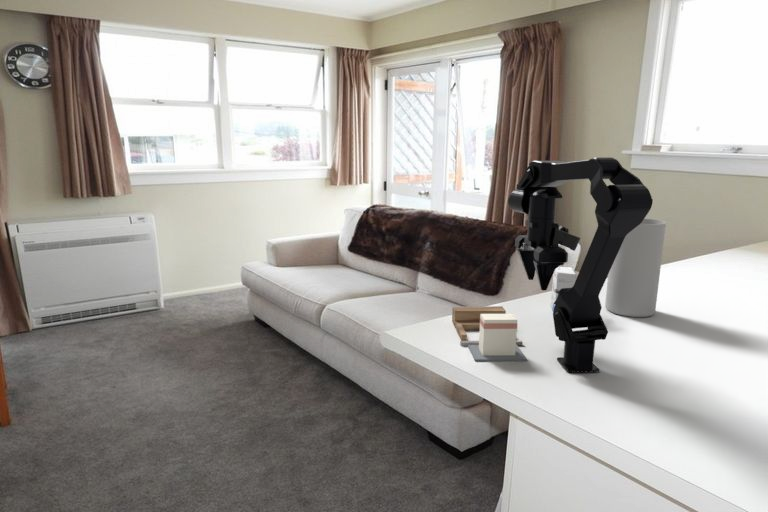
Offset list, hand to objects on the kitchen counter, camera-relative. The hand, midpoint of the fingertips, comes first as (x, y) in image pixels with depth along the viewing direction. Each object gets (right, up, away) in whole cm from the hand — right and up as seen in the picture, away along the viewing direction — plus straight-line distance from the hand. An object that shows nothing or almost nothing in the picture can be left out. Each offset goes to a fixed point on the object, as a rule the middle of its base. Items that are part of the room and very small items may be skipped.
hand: (537, 284), depth 117 cm
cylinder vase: (+33, -9, +23) cm, 41 cm away
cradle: (-11, -12, +6) cm, 17 cm away
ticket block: (-11, -14, -6) cm, 19 cm away
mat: (-11, -15, -6) cm, 19 cm away
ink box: (+14, -9, +23) cm, 28 cm away
